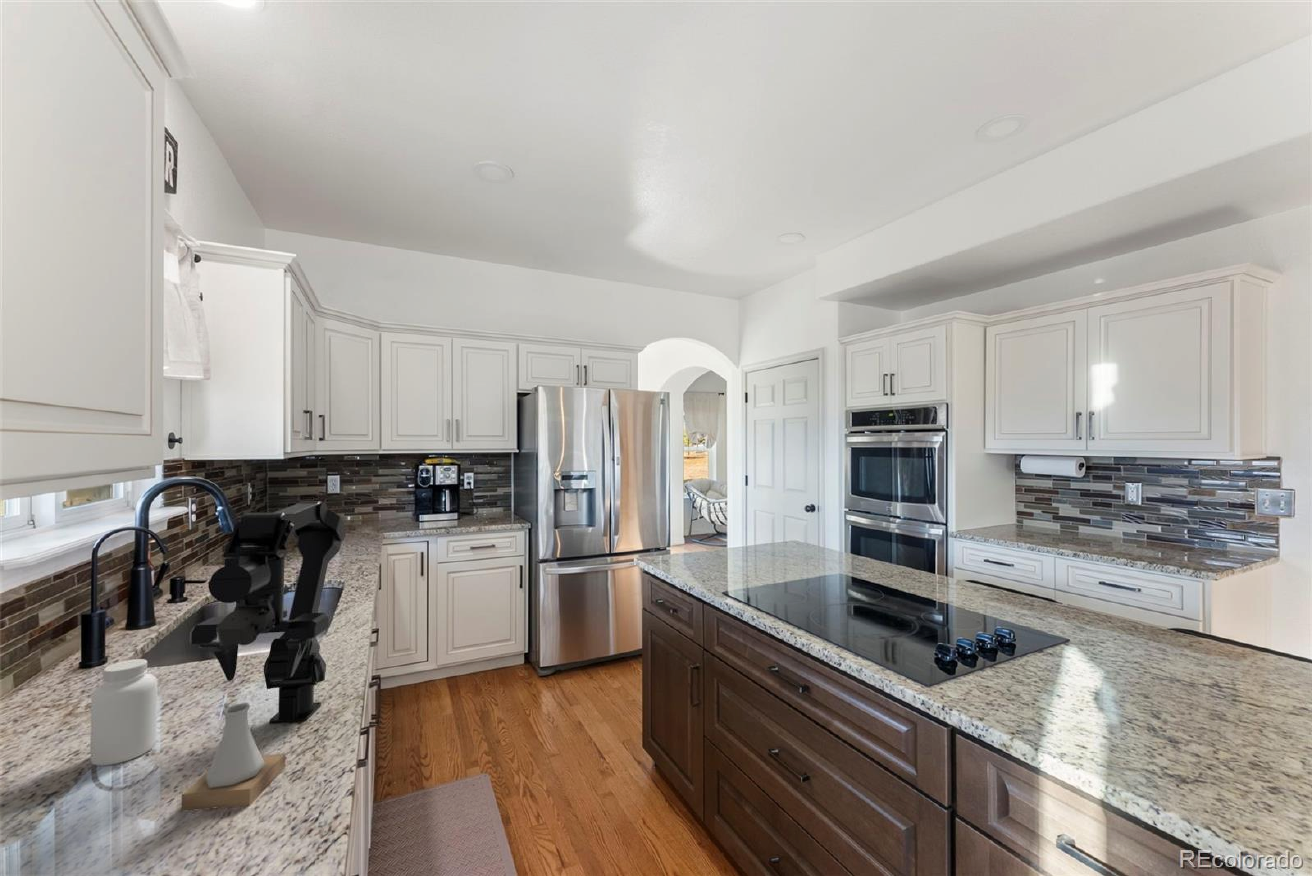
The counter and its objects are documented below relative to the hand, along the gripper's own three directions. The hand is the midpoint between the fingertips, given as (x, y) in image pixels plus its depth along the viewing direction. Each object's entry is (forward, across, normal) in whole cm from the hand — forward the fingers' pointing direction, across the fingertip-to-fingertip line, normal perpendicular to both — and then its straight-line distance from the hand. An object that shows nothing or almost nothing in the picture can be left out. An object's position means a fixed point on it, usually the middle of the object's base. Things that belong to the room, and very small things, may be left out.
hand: (261, 678), depth 89 cm
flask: (+11, +2, -9) cm, 14 cm away
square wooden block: (+14, +2, -9) cm, 16 cm away
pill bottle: (+13, -23, +4) cm, 27 cm away
